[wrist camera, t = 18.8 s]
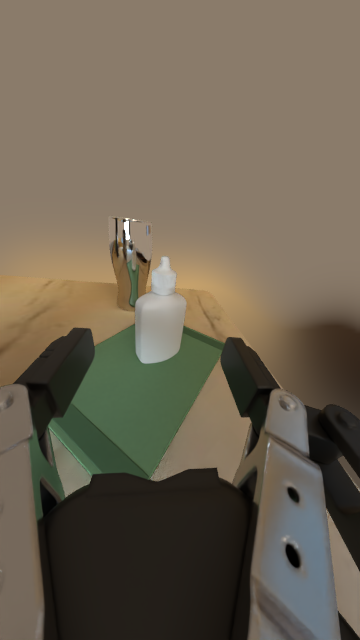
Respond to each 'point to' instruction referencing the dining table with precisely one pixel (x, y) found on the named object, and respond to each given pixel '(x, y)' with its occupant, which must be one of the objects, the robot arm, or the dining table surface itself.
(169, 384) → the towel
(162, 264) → the eye dropper bottle
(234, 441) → the dining table surface
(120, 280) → the beer glass
